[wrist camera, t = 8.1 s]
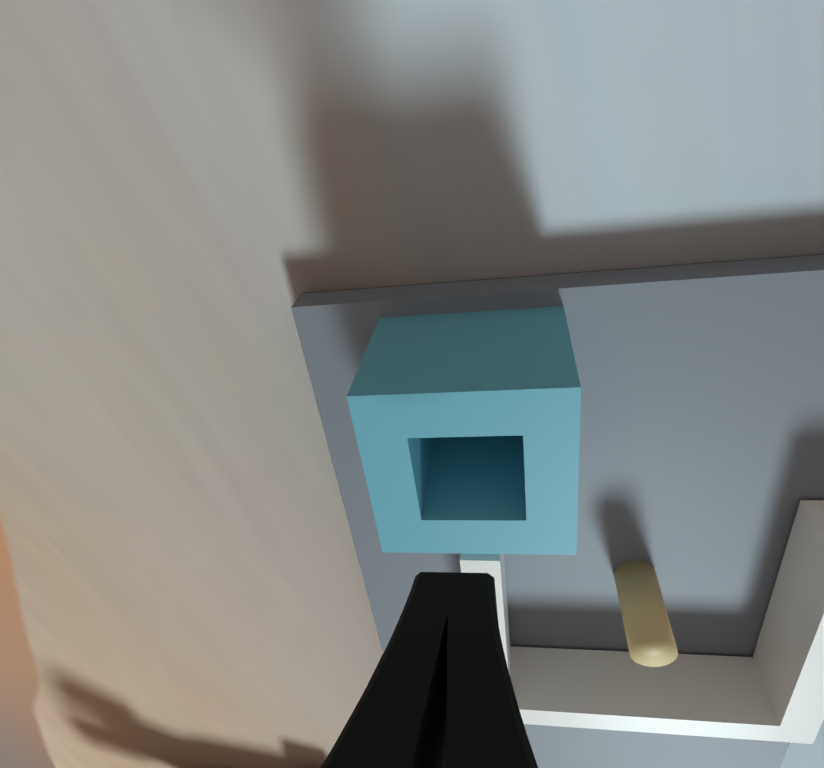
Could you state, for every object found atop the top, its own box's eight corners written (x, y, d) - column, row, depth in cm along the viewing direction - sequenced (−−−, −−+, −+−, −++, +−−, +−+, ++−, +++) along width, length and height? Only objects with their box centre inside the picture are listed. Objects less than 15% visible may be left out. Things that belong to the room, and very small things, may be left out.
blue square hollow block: (563, 305, 15) (580, 387, 12) (562, 453, 17) (576, 555, 14) (379, 318, 16) (346, 396, 12) (404, 456, 18) (382, 552, 15)
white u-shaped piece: (844, 500, 17) (893, 567, 15) (782, 674, 22) (812, 744, 19) (464, 501, 19) (459, 560, 17) (482, 659, 24) (480, 721, 22)
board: (962, 243, 14) (1111, 314, 10) (755, 783, 28) (789, 886, 25) (301, 293, 17) (252, 359, 13) (418, 755, 31) (408, 844, 28)
